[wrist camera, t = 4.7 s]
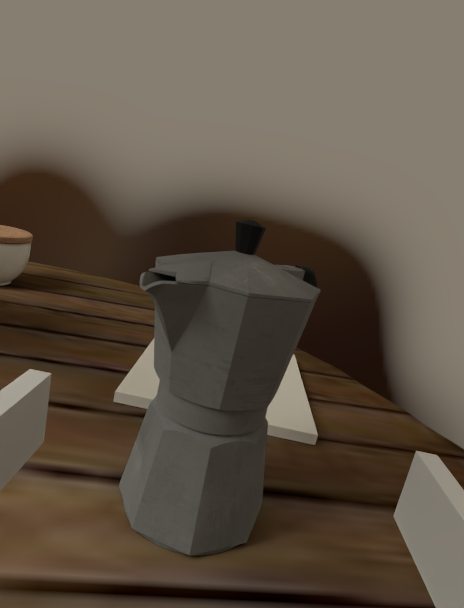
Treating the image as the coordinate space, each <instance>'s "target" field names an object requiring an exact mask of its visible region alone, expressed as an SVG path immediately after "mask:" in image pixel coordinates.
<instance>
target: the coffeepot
mask: <svg viewBox="0 0 464 608" xmlns="http://www.w3.org/2000/svg"><path fill="white" fill-rule="evenodd" d="M265 229H266V228H265V227H264V226H262V225H261V224H259V223H258V222H256V221H253V220H243V221H237V222H236V251H227V252H212V253H196V254H182V255H173V256H164V257H157V258H156V268H151V269H149V271H151V272H144V273H142V275H141V278H140V288H141V289H143V290H145V291H147V292H148V293H149V294H150V296H151V298H152V301H153V303H154V306H155V332H154V369H155V371H156V374H157V376H158V377H159V379H160V381H159V386H158V391H157V395H156V396H155V398H154V399H153V400H152V401H151V403H150V404H149V407H148V409H147V412H146V415H145V417H144V420H143V423H142V425H141V428H140V431H139V433H138V436H137V439H136V441H135V444H134V447H133V449H132V452H131V454H130V457H129V460H128V462H127V465H126V468H125V470H124V473H123V476H122V478H121V481H120V484H119V488H120V492H121V495H122V499H123V505H124V510H125V513H126V515H127V517H128V520H129V521H130V524H131V527H132V529H133V530H135V531H136V532H138V533H139V534H140V535H142V536H143V537H144V538H146V539H147V540H149V541H151V542H152V543H154V544H156V545H158V546H159V547H162V548H165V549H167V550H170V551H173V552H177V553H182V554H187V555H189V556H199V555H210V554H217V553H221V552H224V551H227V550H230V549H232V548H233V547H235V546H237V545H239V544H243V543H247V541H248V538H249V536H250V533H251V531H252V529H253V527H254V524H255V521H256V518H257V516H258V513H259V511H260V509H261V506H262V498H263V485H264V471H265V457H266V444H267V430H268V421H267V419H266V413H267V408H268V406H269V404H270V403H271V401H272V400H273V398H274V396H275V395H276V393H277V391H278V388H279V386H280V384H281V381H282V379H283V377H284V374H285V372H286V370H287V367H288V365H289V363H290V360H291V358H292V356H293V353H294V351H295V348H296V346H297V344H298V341H299V339H300V337H301V334H302V332H303V330H304V327H305V325H306V323H307V320H308V318H309V315H310V313H311V311H312V309H313V306H314V304H315V302H316V300H317V297H318V294H319V293H320V289H318V286H317V281H316V276H315V272H314V271H313V270H312V269H311V268H310V267H308V266H301V265H300V266H298V265H297V266H295V267H294V266H288V265H275V266H274V265H273V264H271V263H269V262H267V261H265V260H263V259H261V258H259V257H257V256H256V255H254V254H255V252H256V250H257V248H258V245H259V243H260V241H261V238H262V236H263V234H264V231H265Z"/></svg>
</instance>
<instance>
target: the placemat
mask: <svg viewBox="0 0 464 608" xmlns="http://www.w3.org/2000/svg"><path fill="white" fill-rule="evenodd" d="M159 381H160V379H159V377H158V376H157V374H156V371H155V369H154V339H153V340H152V342H151V343H150V344H149V346H148V347H147V349H146V350H145V351H144V353H143V354H142V355H141V357H140V358H139V359H138V361H137V362H136V364H135V365H134V366H133V368H132V369H131V370H130V372H129V373H128V374H127V376H126V377H125V379H124V380H123V381H122V383H121V384H120V385H119V387H118V388H117V389H116V391H115V395H114V401H113V402H117V403H121V404H126V405H131V406H135V407H140V408H145V409H148V407H149V404H150V403H151V401H152V400H153V399H154V398H155V396H156V395H157V391H158V386H159ZM266 419H267V421H268V430H267V435H270V436H274V437H279V438H284V439H288V440H293V441H298V442H302V443H307V444H312V445H315V444H316V440H317V437H318V433H317V430H316V427H315V423H314V420H313V416H312V413H311V409H310V406H309V403H308V399H307V396H306V392H305V389H304V386H303V382H302V379H301V375H300V372H299V368H298V365H297V362H296V358H295V355H293V356H292V358H291V360H290V363H289V365H288V367H287V370H286V372H285V374H284V377H283V379H282V381H281V384H280V386H279V388H278V391H277V393H276V395H275V396H274V398H273V400H272V401H271V403H270V404H269V406H268V408H267V413H266Z"/></svg>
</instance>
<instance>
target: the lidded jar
mask: <svg viewBox="0 0 464 608" xmlns="http://www.w3.org/2000/svg"><path fill="white" fill-rule="evenodd" d="M31 242H32V234H31V233H29V232H27V231H24V230H21V229H17V228H13V227H8V226H3V225H0V286H3V285H8V284H10V283H11V281H12V280H13V279H15V278H16V277H18V276H19V275H20V274H21V273H22V271H23V270H24V269H25V267H26V265H27V262H28V259H29V255H30V247H31Z"/></svg>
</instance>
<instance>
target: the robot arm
mask: <svg viewBox="0 0 464 608" xmlns="http://www.w3.org/2000/svg"><path fill="white" fill-rule="evenodd" d="M51 374H52V373H47V372H42V371H38V370H33V369H29V370H28V371H27V372H25V373H24V374H23V375H21V376H20V377H18V378H17V379H16V380H14V381H13V382H12V383H10V384H9V385H7V386H6V387H5V388H3V389H2V390H1V391H0V491H1V490H2V489H3V488H4V486H5V485H6V484H7V483H8V482H9V481H10V480H11V479H12V477H13V476H14V475H15V474H16V473H17V472H18V471H19V469H20V468H21V467H22V466H23V465H24V464H25V463H26V462H27V460H28V459H29V458H30V457H31V456H32V455H33V454H34V453H35V451H36V450H37V449H38V448H39V447H40V446H41V445H42V443H43V442H44V434H45V426H46V417H47V408H48V400H49V391H50V382H51ZM393 517H394V519H395V521H396V523H397V525H398V527H399V529H400V532H401V534H402V536H403V538H404V540H405V542H406V545H407V547H408V549H409V551H410V553H411V555H412V558H413V560H414V562H415V564H416V566H417V568H418V570H419V573H420V575H421V577H422V579H423V581H424V583H425V586H426V588H427V590H428V592H429V594H430V596H431V598H432V601H433V603H434V605H435V607H436V608H464V490H463V489H462V487H461V486H460V485H459V483H458V482H457V481H456V479H455V478H454V477H453V475H452V474H451V473H450V471H449V470H448V469H447V467H446V466H445V465H444V463H443V462H442V461H441V459H440V458H439V457H438V455H434V454H429V453H425V452H420V451H416V452H415V455H414V458H413V461H412V464H411V467H410V470H409V473H408V475H407V478H406V481H405V484H404V487H403V490H402V493H401V495H400V498H399V501H398V504H397V507H396V510H395V513H394V516H393Z"/></svg>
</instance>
